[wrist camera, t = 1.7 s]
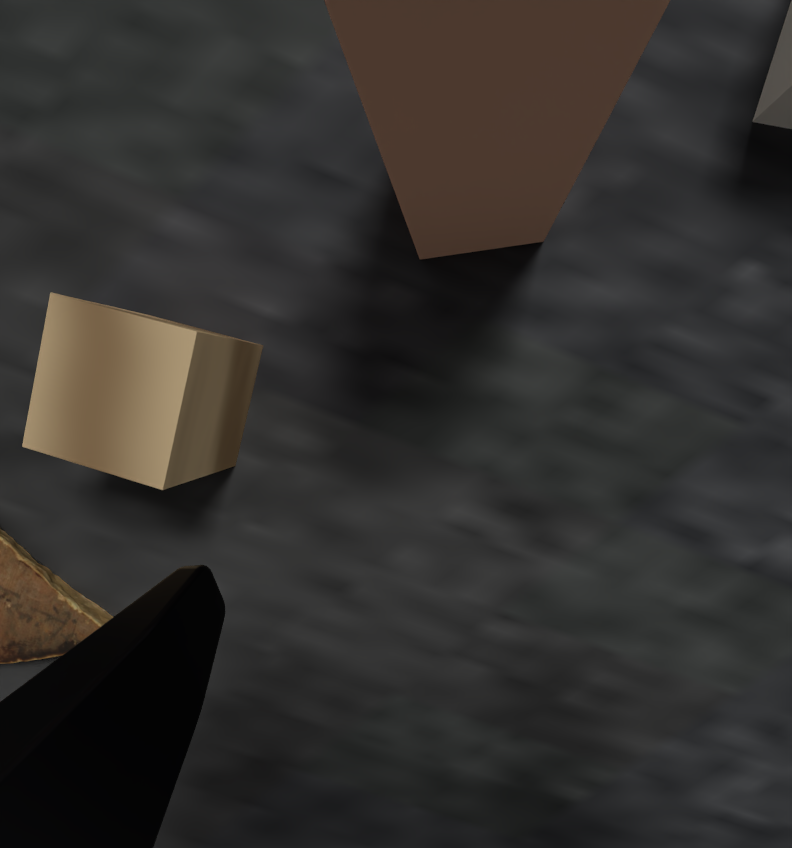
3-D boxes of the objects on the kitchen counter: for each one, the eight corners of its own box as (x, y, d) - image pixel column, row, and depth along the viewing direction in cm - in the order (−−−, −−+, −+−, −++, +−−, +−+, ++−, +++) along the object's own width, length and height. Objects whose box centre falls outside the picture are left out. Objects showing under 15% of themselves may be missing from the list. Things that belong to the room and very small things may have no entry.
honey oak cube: (263, 345, 20) (197, 331, 15) (235, 465, 21) (162, 489, 16) (150, 315, 21) (50, 292, 16) (126, 432, 21) (22, 446, 16)
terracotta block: (543, 241, 18) (728, -111, 5) (419, 259, 19) (318, -16, 6) (532, 113, 18) (696, -581, 5) (407, 136, 19) (272, -428, 6)
